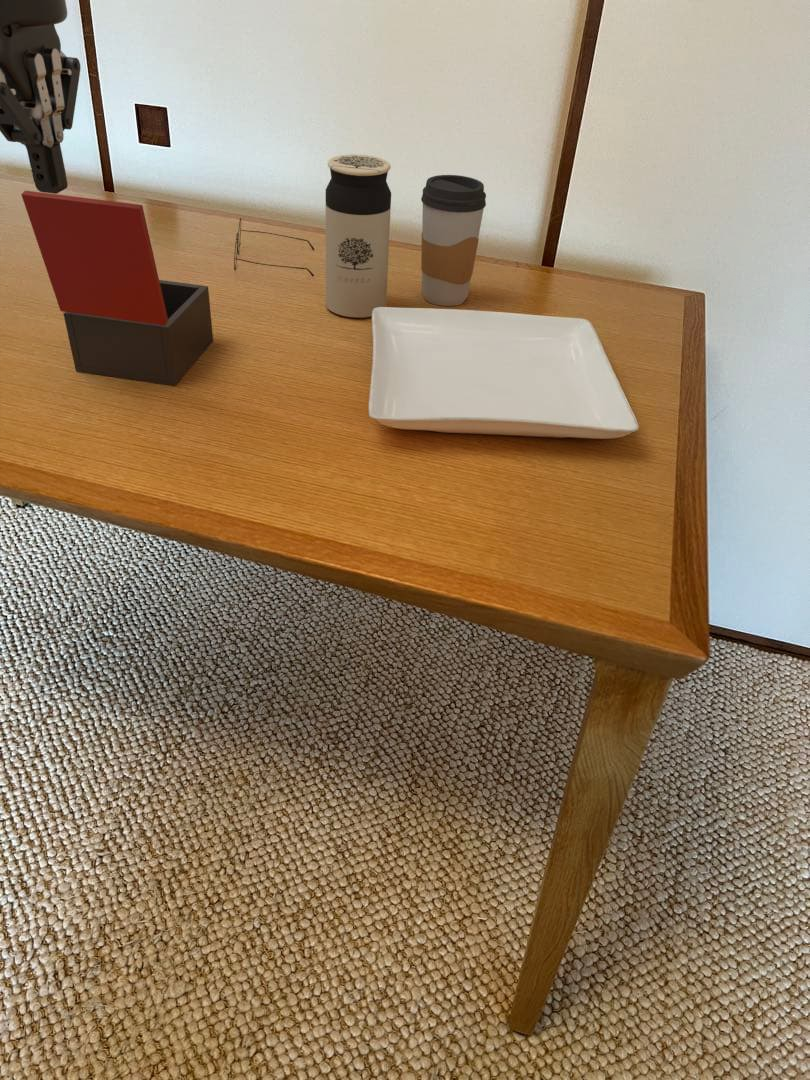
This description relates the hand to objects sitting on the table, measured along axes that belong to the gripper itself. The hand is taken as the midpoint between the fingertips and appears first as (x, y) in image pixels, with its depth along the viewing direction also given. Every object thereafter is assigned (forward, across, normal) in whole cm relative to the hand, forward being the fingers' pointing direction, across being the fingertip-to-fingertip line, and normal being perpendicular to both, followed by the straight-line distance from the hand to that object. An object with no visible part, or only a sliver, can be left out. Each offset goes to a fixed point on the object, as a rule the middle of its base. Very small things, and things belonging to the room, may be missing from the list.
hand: (52, 190), depth 71 cm
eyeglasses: (+22, -45, +5) cm, 50 cm away
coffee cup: (+22, -40, +31) cm, 55 cm away
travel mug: (+22, -33, +20) cm, 44 cm away
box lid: (+8, -6, 0) cm, 10 cm away
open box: (+22, -12, 0) cm, 25 cm away
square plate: (+22, -16, +39) cm, 48 cm away
